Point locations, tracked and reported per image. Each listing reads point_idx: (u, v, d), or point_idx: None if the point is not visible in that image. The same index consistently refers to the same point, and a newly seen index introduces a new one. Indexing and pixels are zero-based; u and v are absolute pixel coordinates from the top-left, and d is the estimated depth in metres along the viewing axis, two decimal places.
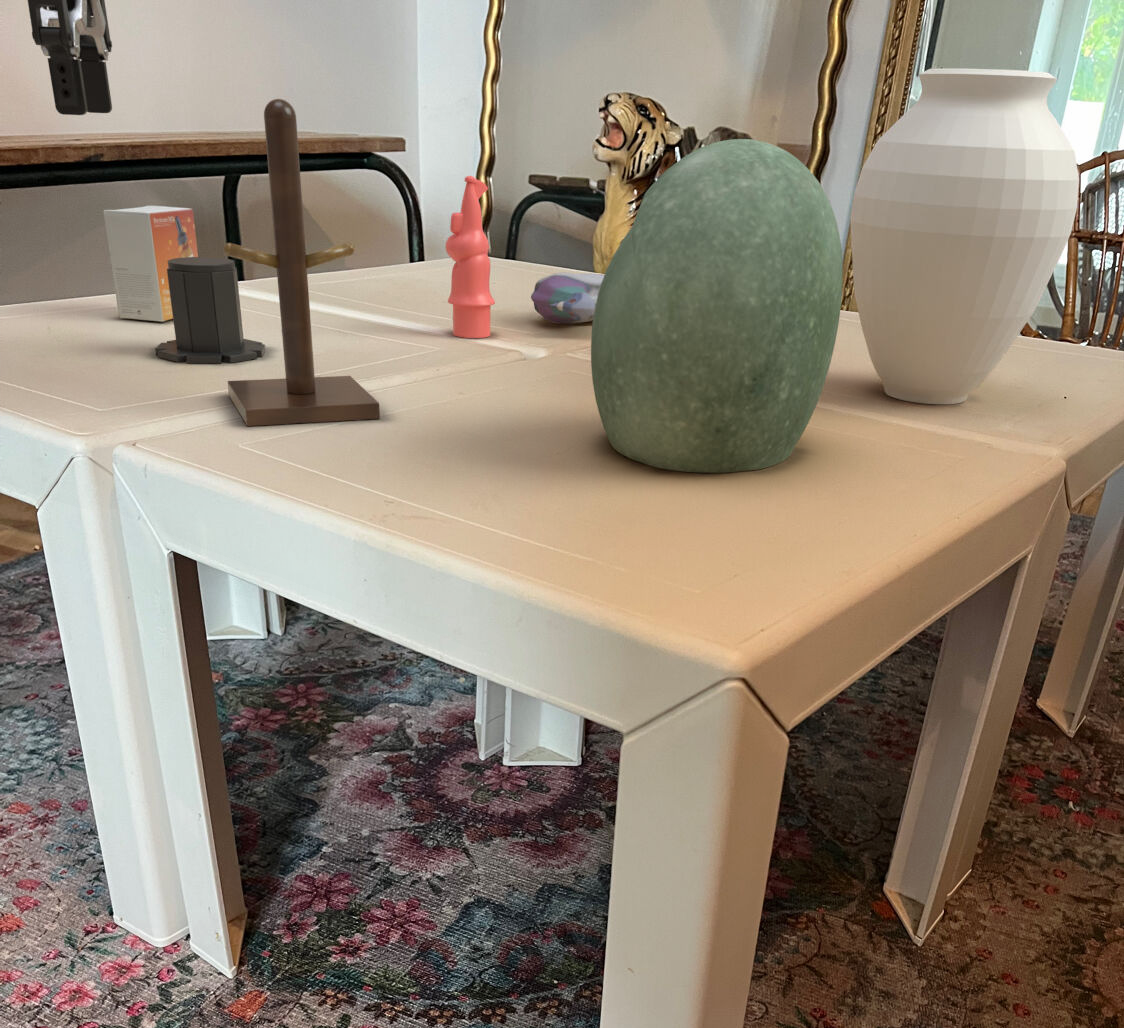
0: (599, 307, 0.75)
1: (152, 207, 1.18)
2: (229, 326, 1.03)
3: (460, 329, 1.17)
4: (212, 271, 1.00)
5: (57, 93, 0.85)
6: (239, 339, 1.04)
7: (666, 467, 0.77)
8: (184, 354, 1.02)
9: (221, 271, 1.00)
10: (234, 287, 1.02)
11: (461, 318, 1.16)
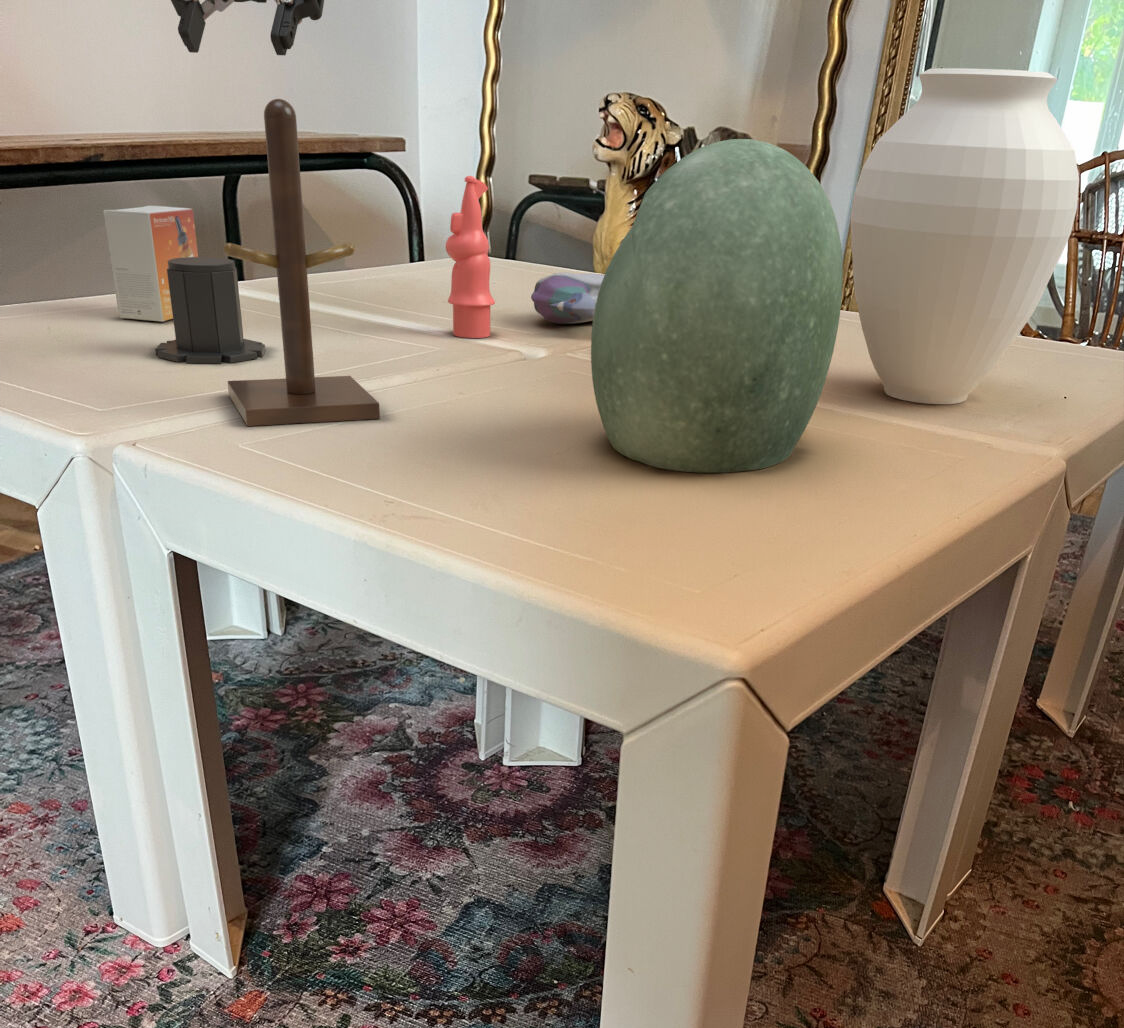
0: (599, 307, 0.75)
1: (152, 207, 1.18)
2: (229, 326, 1.03)
3: (460, 329, 1.17)
4: (212, 271, 1.00)
5: (289, 29, 1.02)
6: (239, 339, 1.04)
7: (666, 467, 0.77)
8: (184, 354, 1.02)
9: (221, 271, 1.00)
10: (234, 287, 1.02)
11: (461, 318, 1.16)
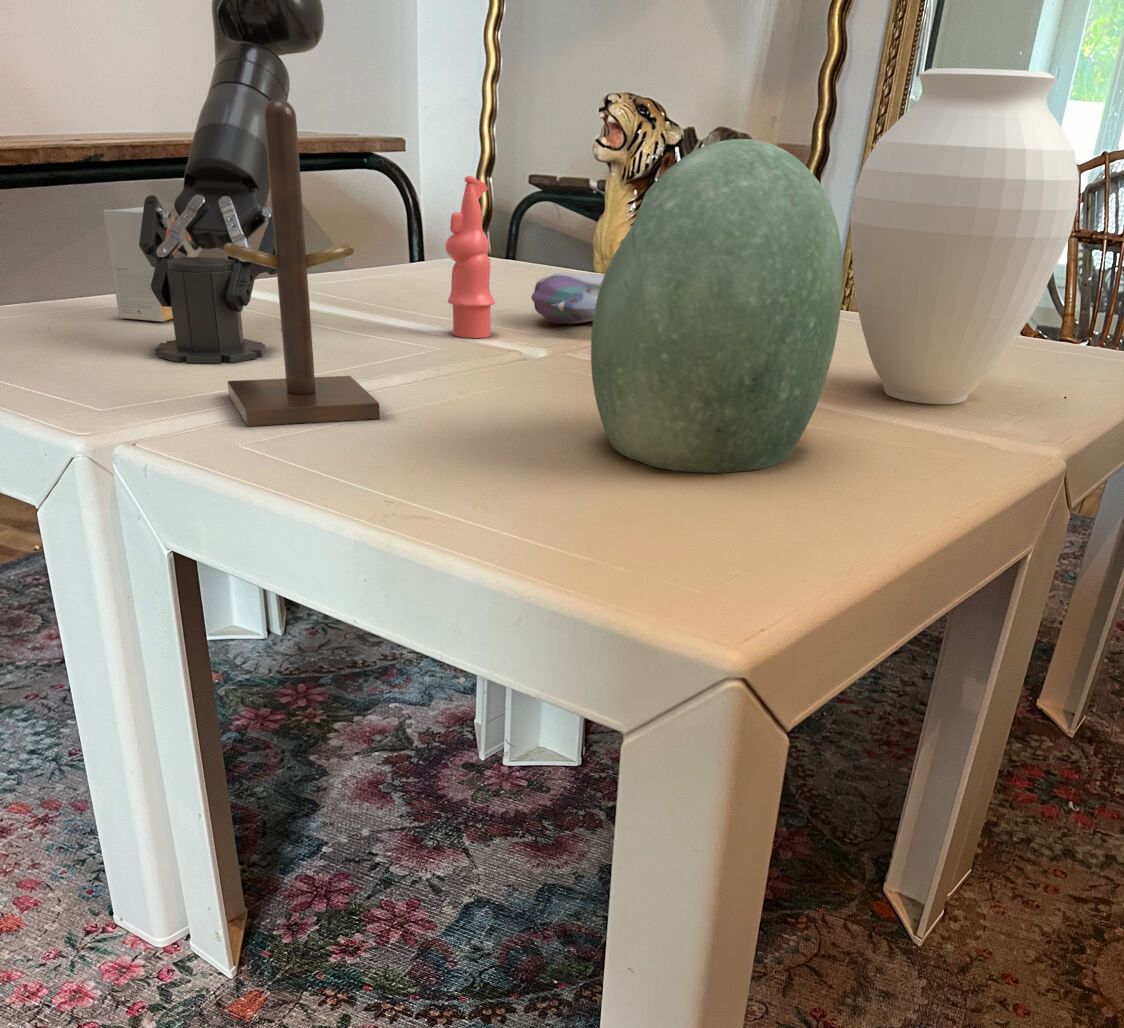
0: (599, 307, 0.75)
1: None
2: (229, 326, 1.03)
3: (460, 329, 1.17)
4: (212, 271, 1.00)
5: (245, 289, 1.01)
6: (239, 339, 1.04)
7: (666, 467, 0.77)
8: (184, 354, 1.02)
9: (221, 271, 1.00)
10: None
11: (461, 318, 1.16)
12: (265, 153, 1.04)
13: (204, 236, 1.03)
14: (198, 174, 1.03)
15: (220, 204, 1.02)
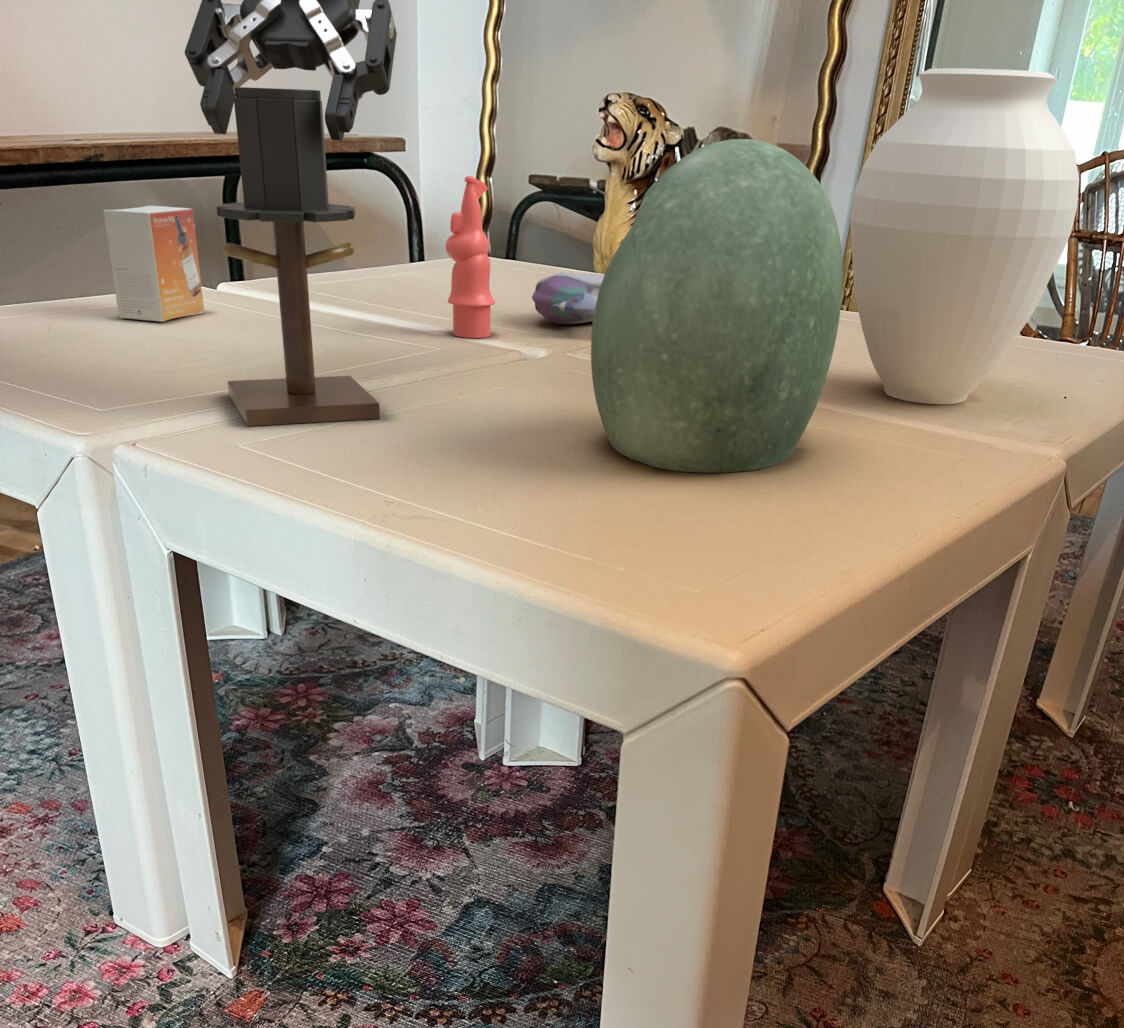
0: (599, 307, 0.75)
1: (152, 207, 1.18)
2: (313, 176, 0.79)
3: (460, 329, 1.17)
4: (294, 98, 0.76)
5: (348, 108, 0.77)
6: (325, 195, 0.80)
7: (666, 467, 0.77)
8: (255, 211, 0.78)
9: (305, 99, 0.77)
10: (320, 124, 0.78)
11: (461, 318, 1.16)
12: None
13: (279, 49, 0.79)
14: None
15: (302, 6, 0.78)
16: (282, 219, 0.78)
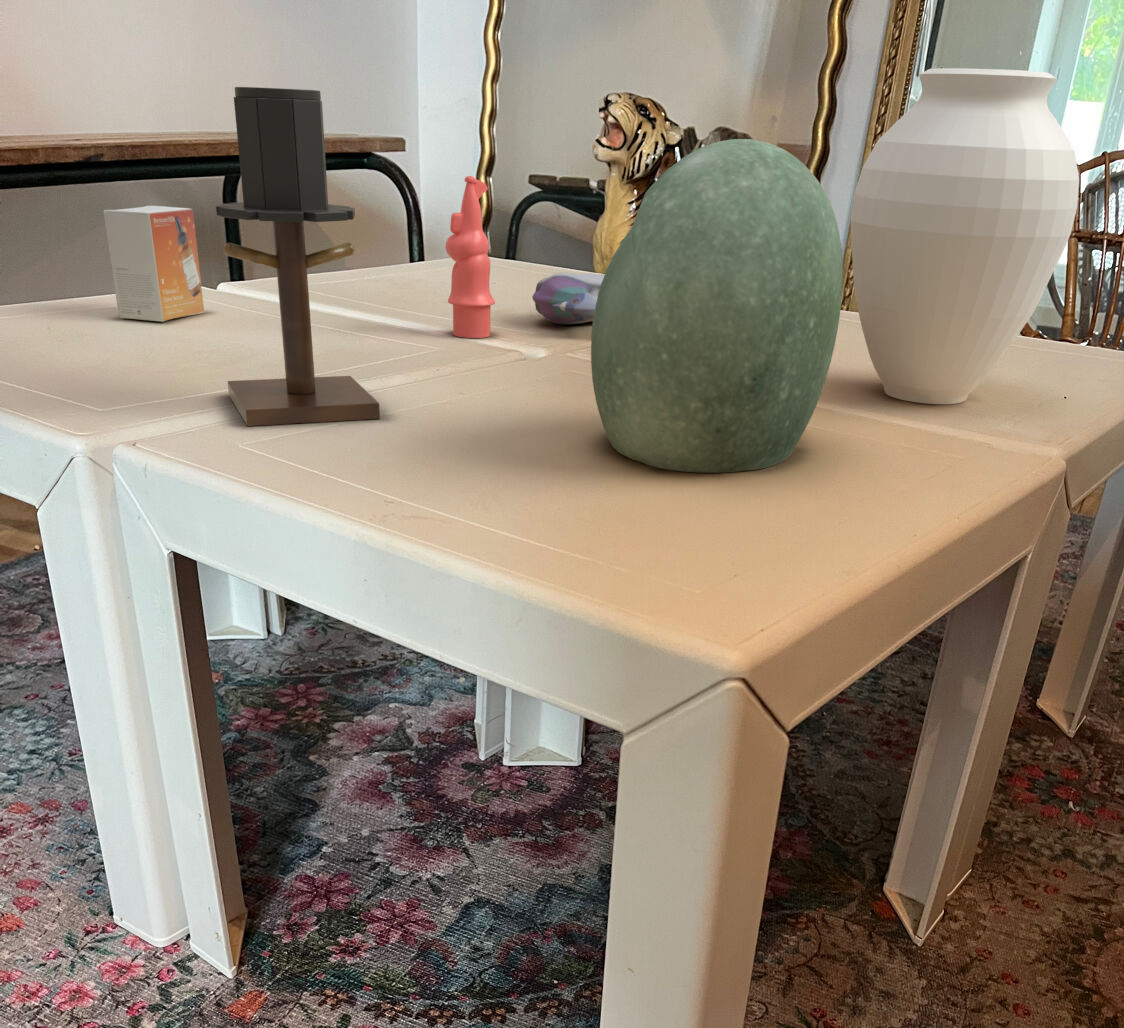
0: (599, 307, 0.75)
1: (152, 207, 1.18)
2: (313, 176, 0.79)
3: (460, 329, 1.17)
4: (294, 98, 0.76)
5: None
6: (324, 196, 0.80)
7: (666, 467, 0.77)
8: (255, 210, 0.78)
9: (305, 99, 0.77)
10: (320, 124, 0.78)
11: (461, 318, 1.16)
12: None
13: None
14: None
15: None
16: (281, 219, 0.77)
